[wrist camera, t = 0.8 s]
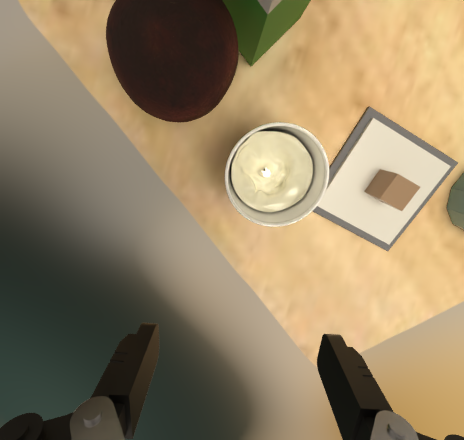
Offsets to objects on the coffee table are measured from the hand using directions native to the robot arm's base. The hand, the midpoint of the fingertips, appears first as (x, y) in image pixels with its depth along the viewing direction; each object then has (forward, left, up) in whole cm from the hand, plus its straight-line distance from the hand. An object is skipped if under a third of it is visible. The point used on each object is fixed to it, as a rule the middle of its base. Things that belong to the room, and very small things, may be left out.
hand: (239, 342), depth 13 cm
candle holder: (-7, +1, -26) cm, 27 cm away
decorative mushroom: (-12, -12, -26) cm, 31 cm away
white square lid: (-12, +17, -26) cm, 33 cm away
